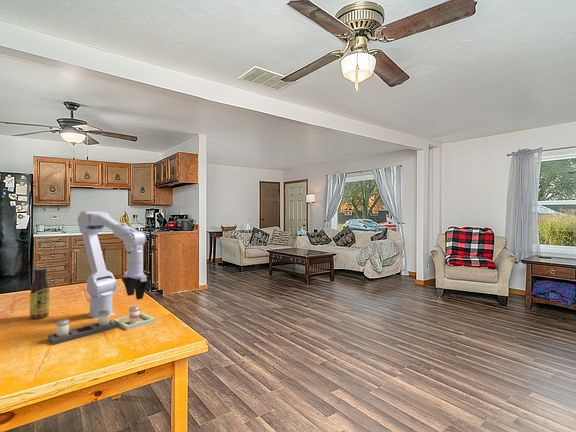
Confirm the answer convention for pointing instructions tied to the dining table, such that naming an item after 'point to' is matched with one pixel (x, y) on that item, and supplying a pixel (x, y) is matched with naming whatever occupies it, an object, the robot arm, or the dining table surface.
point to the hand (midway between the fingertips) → (135, 297)
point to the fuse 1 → (62, 328)
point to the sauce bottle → (39, 295)
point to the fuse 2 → (103, 318)
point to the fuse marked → (134, 315)
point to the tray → (131, 326)
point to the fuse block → (82, 332)
